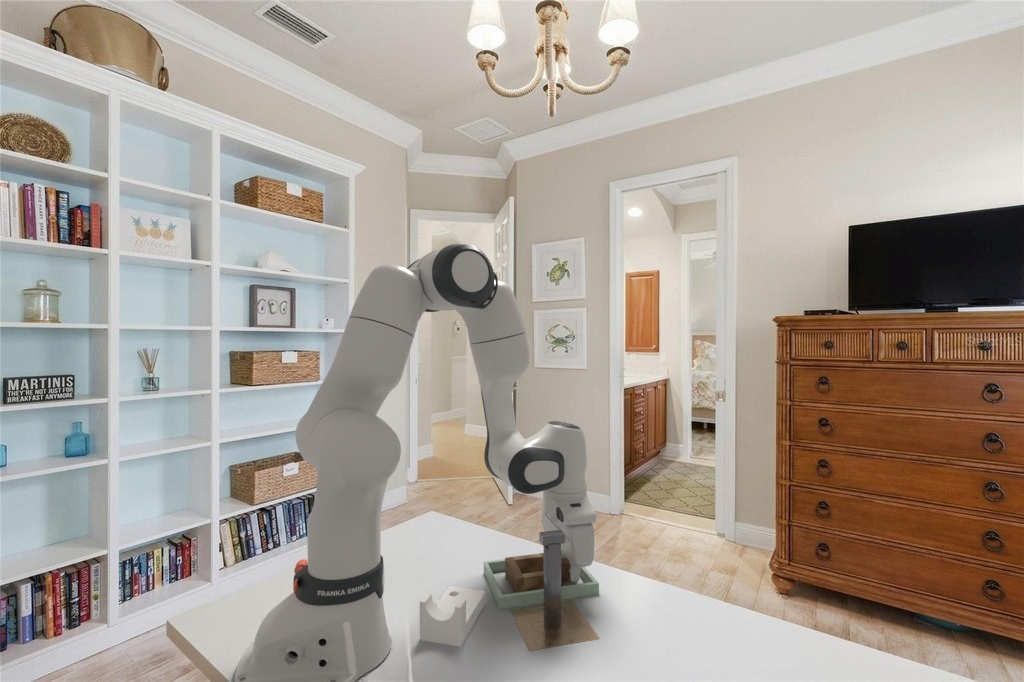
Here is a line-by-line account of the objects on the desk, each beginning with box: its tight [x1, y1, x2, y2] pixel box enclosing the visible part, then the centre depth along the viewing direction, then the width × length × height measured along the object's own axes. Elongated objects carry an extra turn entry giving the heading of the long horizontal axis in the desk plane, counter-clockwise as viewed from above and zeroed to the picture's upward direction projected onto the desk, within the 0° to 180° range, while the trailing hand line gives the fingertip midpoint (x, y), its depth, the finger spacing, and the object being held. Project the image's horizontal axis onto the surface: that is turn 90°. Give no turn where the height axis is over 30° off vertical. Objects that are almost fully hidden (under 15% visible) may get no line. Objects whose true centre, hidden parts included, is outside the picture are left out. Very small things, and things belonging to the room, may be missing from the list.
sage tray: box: [483, 552, 600, 610], centre depth 97 cm, size 20×15×3 cm
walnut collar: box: [504, 552, 572, 593], centre depth 97 cm, size 14×9×4 cm, turn 105°
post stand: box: [509, 530, 600, 652], centre depth 83 cm, size 12×12×16 cm
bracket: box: [419, 586, 487, 648], centre depth 84 cm, size 13×7×8 cm, turn 165°
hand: (565, 568), depth 98 cm, fingers open, 8 cm apart
